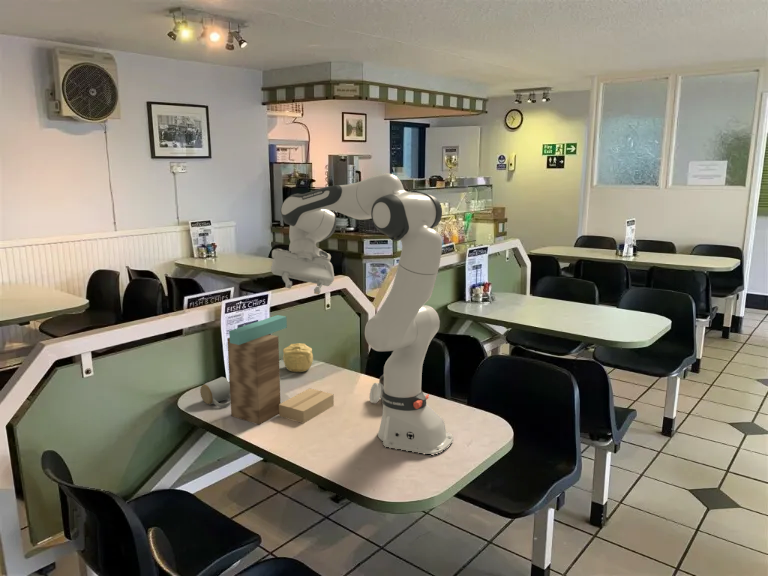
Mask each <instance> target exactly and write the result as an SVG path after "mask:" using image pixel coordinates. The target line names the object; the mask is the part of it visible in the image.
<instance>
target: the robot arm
mask: <svg viewBox="0 0 768 576" xmlns="http://www.w3.org/2000/svg"><path fill="white" fill-rule="evenodd" d="M403 185H404V184H402V180H400V178H399V177H398V176H397V175H395V174H392V173H388V172H387V173H380V174H377V175H373V176H370V177H368V178H365V179H363V180H361V181H358V182H354V183H349V184H339V185H338V184H337V185H329V186H325V187H322V188H318V189H315V190H311V191H308V192H305V193H293V194H291V195H289V196H288V197H286V199H284V201H283V202H282V203H281V208H280V215H281V218H282V221H283V222H284V224H286V225H289V233H288V236H289V238H288V239H289V241H290V242H289V247H288V250H287V249H286V250H285V249H282V248H278V247H277V248H274V249H273V250H271V258H272V261H271V262H272V263H271V268H270V271H271V273H272V274H273V275H275V276H279V277H281V278H282V279H281V280H282V281H283V283H285V288H286V289H291V288H292V286H293V281H292V280H293V279H294V280H298V281H303V282H307V283H311V284H316V287H315V288H314V289H313V294H314V295H320V294H321V289H322V287H323V286H324V287H330V286H331V284H332V283H333V282H334V281H335V273H334V266H333V264H332V262H331V258H332V256H331V254H330V253H327V252H326V251H324V250H323V249H321V248H319V247H318V246H317V243H321V242H323V241H324V240H326V239H329V238H330V237H331V236H332V235H333V234H334V233H335V231H336V229H337V217H336V214H335V213H334V212H336V213H340V214H342V215H345V216H346V217H349V218H352V219H354V220H358V221H359V220H361V221H362V220H370V219H371V220H372V223H373V225H374V227H375V228H376V229H377V230H378V231H379V232H380V233H381V234H384V235H386V236H387V237H388V238H389V240H391V241H393V242H397V241H400V242H401V253H400V256H399V261H398V264H397V268H396V273H395V276H394V280H393V284H392V287H391V289H390V291H389V293H388V295H387V297H386V298H385V300H384V302H383V303H382V305H381V306H380V308H379V310H378V311H377V312H376V313H375V314H374V315H373V316H372V317H371V318H370V319H368V321H367V322H366V325H365V327H364V338H365V340H366V343H367V344H368V345H369V347H370V348H371V349H372V350H373V351H376V352H391V355H390V356H389V357H388V358H387V360H386V361H385V364H384V366H383V374H384V389H383V390H382V400H381V404H382V412H381V421H380V423H379V424H380V425H379V429H378V432H377V438H379V440H380V441H381V442H382V441H383V442H382V446H383V445H384V446H385V447H384V446H383V447H384V448H386V447H389V448H388V449H391V448H395V449H394V450H397V449H401V450H400V451H402V450H406V451H405V452H408V451H412V452H411V453H414V452H419V453H425V454H436V453H439V452H441V451H443V450H445V449H446V448H447V447H448V446H449V445H450V444H451V443H452V441H453V442H454V436H453V434H452V433H451V432H449V431H446V430H447V429H446V423H445V421H444V419H443V417H441V415H439V413H437V412H436V411H435V410H434V409H433V408H432V407H431V406H429V404H427V400H428V399H429V398H430V397H429V395H430V394H429V393H428V394H426V395H424V392H423V390H422V375H423V374H422V373H423V366H424V365H423V364H424V362H425V361H424V360H425V357H426V354H427V351H428V348H429V345H430V344H431V342H432V339H433V338H434V337H435V336H436V334H437V333H438V332H439V330H440V324H441V320H440V317H439V313H438V312H437V311H436V309H435V308H433V307H432V306H430V305H426V303H427V302H428V301H429V300H430V299H431V297H432V295H433V292H434V287H435V285H436V280H437V277H438V272H439V268H440V264H441V258H442V252H443V251H442V250H443V239H442V236H441V234H440V233H439V232H438V231H437V230H435V229H434V228H435V227H437V226H438V225H439V224H440V222H441V220H442V217H443V208H442V204H441V203H440V201H439V199H437V197H436V196H433V195H431V194H430V193H429V194H428V193H425V192H422V191H421V192H420V191H418V190H415V189H413V190H412V191H407V190H406V189H404V186H403ZM290 279H292V280H290ZM452 444H453V443H452ZM452 444H451V445H452ZM446 450H447V449H446ZM446 450H445V451H446ZM419 453H418V454H419ZM425 454H424V455H425Z"/></svg>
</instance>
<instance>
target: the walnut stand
mask: <svg viewBox="0 0 768 576" xmlns="http://www.w3.org/2000/svg"><path fill="white" fill-rule="evenodd" d="M279 342H280V341H279V335H274V334H271V335H269V334H268V335H265V336H263V337H260V338H257V339H254V340H251V341H249V342H246V343H243V344H240V345H237V344H232V343H230V337H227V357H228V359H227V360H228V376H229V378H228V379H229V380H228V381H229V384H230V399H231V404H230V412H231V413H230V416H231V417H234V418H237V419H239V420H243V421H247V422H248V423H249V422H250V423H252V424H256V425H259V426H260V425H263V424H264V423H265V422H267V421H269V420H271V419H273V418H275V417H276V416H279V404H281V403H282V402H281V380H280V379H281V377H280V372H281V371H280V352H279V351H280V348H279V347H280V345H279V344H280V343H279Z"/></svg>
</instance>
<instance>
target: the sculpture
mask: <svg viewBox="0 0 768 576" xmlns="http://www.w3.org/2000/svg"><path fill="white" fill-rule="evenodd" d="M282 352H283V356H282V360H283V364H284V367H285V368H286V369H287V370H288V371H290V372H292V373H302V372H306V371H308V370H309V369H310V368H311V367H312V364H313V362H314V354H313V348H312V347H311V346H308V345H306V343H300V342H299V343H298V342H297V343H290V345H288V346H286V347H285V348H283V349H282Z"/></svg>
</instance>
